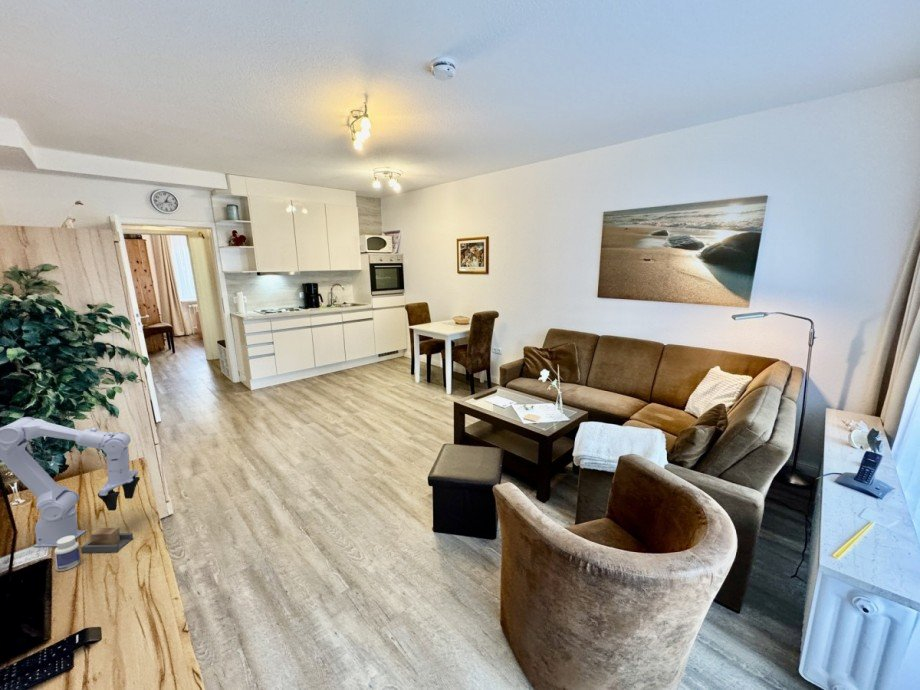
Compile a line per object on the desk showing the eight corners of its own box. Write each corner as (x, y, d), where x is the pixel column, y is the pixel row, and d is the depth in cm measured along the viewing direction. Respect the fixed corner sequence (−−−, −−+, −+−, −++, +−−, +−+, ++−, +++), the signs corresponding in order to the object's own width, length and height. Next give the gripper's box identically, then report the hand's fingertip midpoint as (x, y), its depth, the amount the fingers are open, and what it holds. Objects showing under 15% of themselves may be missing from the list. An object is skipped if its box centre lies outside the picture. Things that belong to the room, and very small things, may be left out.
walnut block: (91, 548, 123) (90, 534, 122) (100, 541, 126) (99, 527, 126) (111, 547, 123) (110, 534, 123) (119, 541, 127) (119, 527, 126)
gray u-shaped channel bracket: (81, 553, 121) (80, 547, 121) (99, 539, 128) (99, 533, 128) (116, 552, 122) (116, 546, 122) (132, 538, 129) (132, 533, 129)
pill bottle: (84, 562, 117) (82, 536, 116) (62, 573, 112) (59, 546, 111) (73, 557, 119) (71, 532, 118) (51, 568, 114) (49, 542, 113)
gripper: (114, 477, 124) (116, 515, 126) (145, 459, 138) (147, 493, 140) (91, 477, 123) (93, 515, 125) (125, 459, 137) (127, 493, 139)
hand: (120, 503), depth 132 cm, fingers open, 7 cm apart
